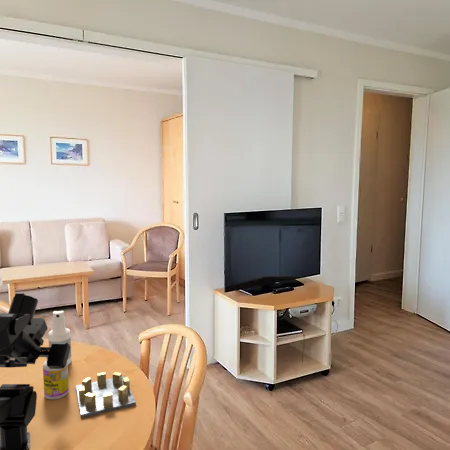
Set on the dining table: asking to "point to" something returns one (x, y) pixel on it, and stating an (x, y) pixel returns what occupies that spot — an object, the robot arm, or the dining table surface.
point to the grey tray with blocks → (104, 394)
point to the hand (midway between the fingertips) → (43, 365)
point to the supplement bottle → (55, 381)
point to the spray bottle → (59, 331)
